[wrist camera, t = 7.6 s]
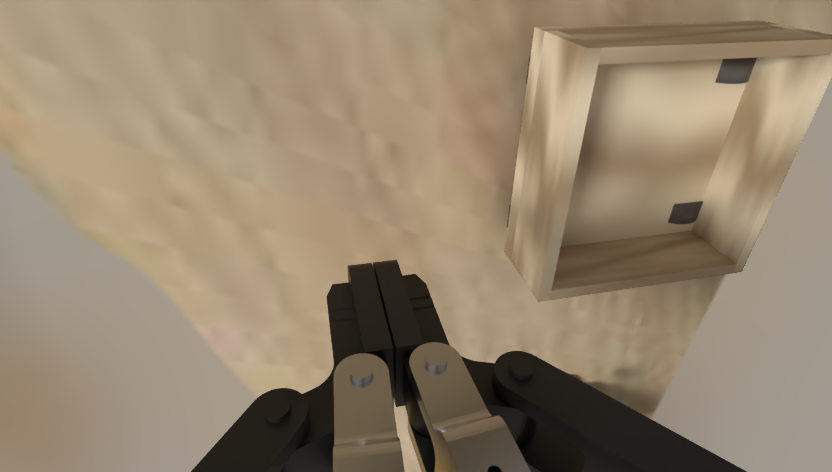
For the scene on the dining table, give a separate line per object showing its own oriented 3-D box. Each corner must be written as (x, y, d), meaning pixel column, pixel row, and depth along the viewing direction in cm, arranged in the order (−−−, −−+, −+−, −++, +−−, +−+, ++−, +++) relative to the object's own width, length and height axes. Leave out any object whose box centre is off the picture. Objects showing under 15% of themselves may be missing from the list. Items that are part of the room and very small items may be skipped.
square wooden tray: (521, 21, 23) (586, 48, 18) (739, 16, 25) (849, 38, 20) (495, 238, 29) (538, 301, 24) (670, 218, 31) (741, 271, 27)
